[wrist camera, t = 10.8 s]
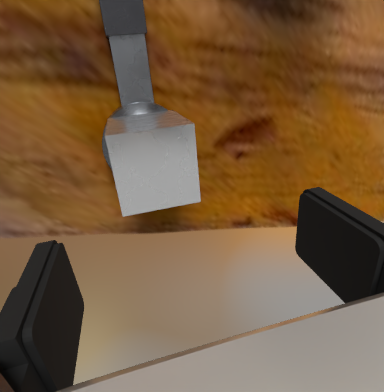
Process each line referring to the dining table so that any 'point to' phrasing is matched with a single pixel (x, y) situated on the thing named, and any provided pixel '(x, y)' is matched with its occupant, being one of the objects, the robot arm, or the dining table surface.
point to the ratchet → (128, 59)
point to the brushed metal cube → (153, 161)
